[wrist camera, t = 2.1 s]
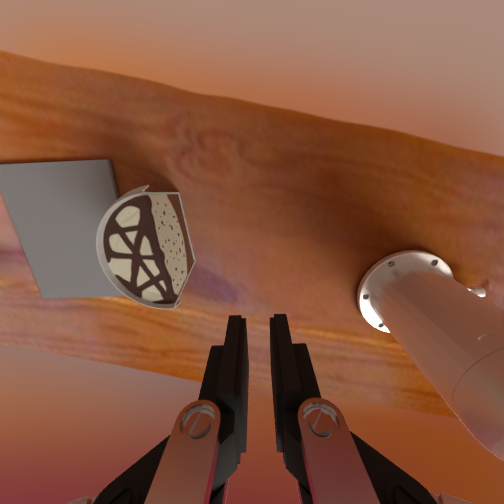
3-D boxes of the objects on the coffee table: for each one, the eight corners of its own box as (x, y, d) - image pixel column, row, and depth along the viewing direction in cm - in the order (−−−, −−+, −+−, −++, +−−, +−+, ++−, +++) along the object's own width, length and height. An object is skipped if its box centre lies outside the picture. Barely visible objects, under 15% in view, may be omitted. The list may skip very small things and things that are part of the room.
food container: (127, 186, 29) (67, 196, 20) (176, 179, 29) (138, 186, 20) (154, 276, 33) (115, 320, 24) (197, 271, 33) (175, 313, 24)
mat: (110, 159, 28) (107, 159, 28) (141, 293, 34) (139, 295, 34) (-5, 165, 29) (-10, 165, 28) (46, 296, 35) (42, 298, 34)
